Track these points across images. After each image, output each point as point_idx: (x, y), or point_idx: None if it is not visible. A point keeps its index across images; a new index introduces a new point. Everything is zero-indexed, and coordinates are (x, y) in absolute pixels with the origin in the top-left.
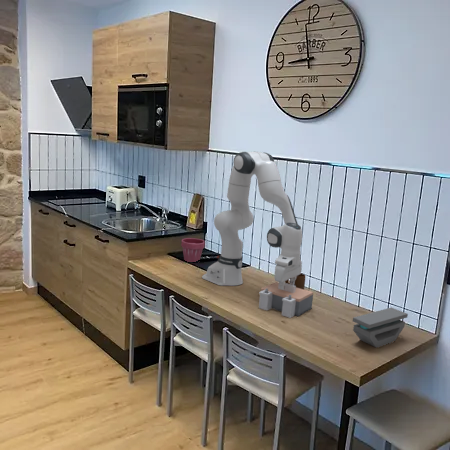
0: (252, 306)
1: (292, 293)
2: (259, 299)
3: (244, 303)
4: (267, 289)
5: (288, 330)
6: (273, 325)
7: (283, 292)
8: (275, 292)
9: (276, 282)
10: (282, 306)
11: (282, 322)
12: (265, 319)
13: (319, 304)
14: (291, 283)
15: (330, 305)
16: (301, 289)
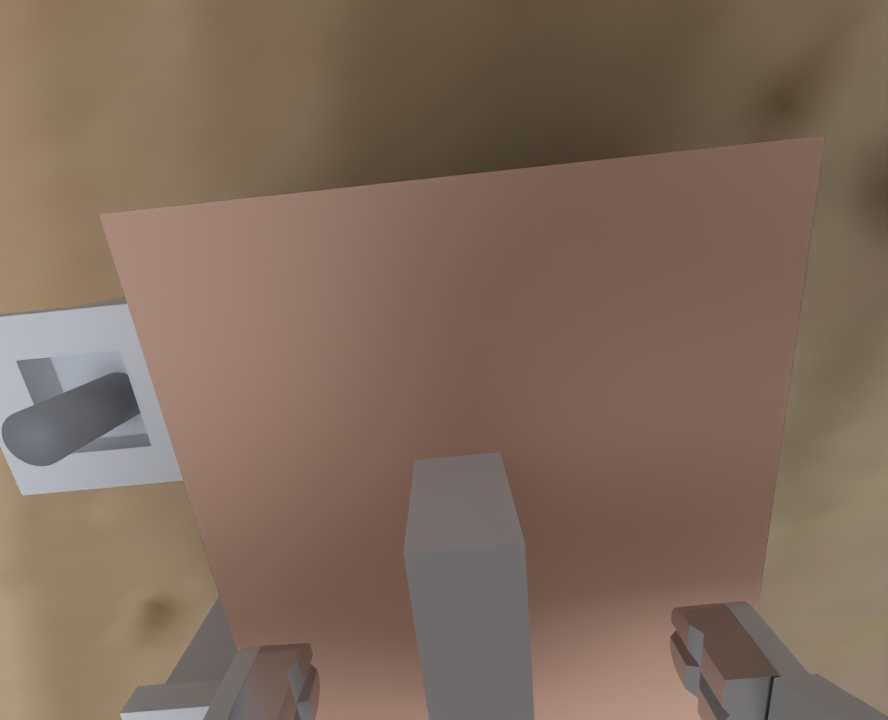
0: (152, 201)
1: (421, 709)
2: (102, 301)
3: (125, 52)
4: (35, 462)
5: (74, 712)
6: (25, 611)
7: (332, 616)
8: (205, 542)
9: (788, 170)
10: (212, 608)
11: (141, 619)
12: (42, 507)
13: (790, 592)
14: (699, 664)
15: (832, 654)
16: None
